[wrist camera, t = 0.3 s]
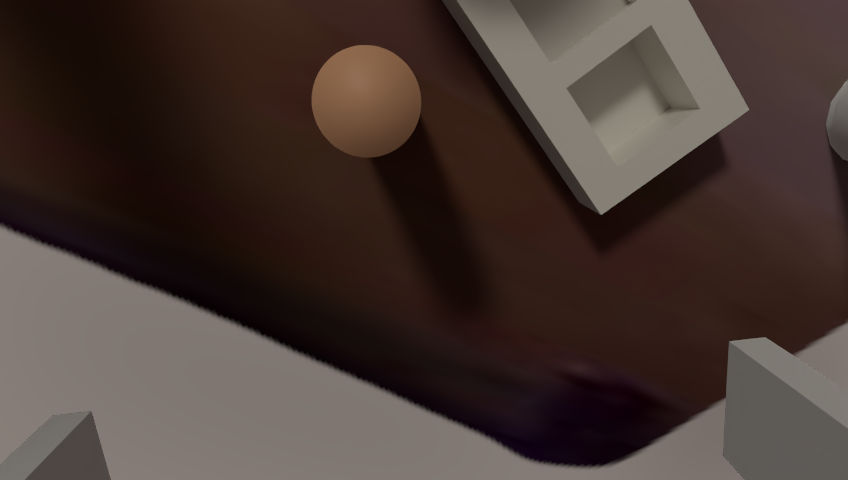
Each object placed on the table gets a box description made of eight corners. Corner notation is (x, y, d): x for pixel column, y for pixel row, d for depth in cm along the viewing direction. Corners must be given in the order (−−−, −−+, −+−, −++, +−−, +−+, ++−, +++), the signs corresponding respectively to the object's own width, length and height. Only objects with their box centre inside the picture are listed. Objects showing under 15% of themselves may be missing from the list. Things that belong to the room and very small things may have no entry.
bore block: (434, -11, 32) (439, -26, 28) (575, -125, 31) (601, -156, 27) (578, 202, 36) (601, 215, 32) (709, 108, 35) (749, 109, 31)
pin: (331, 93, 33) (288, 91, 20) (383, 51, 33) (376, 21, 19) (372, 145, 34) (358, 178, 21) (423, 106, 34) (442, 113, 20)
